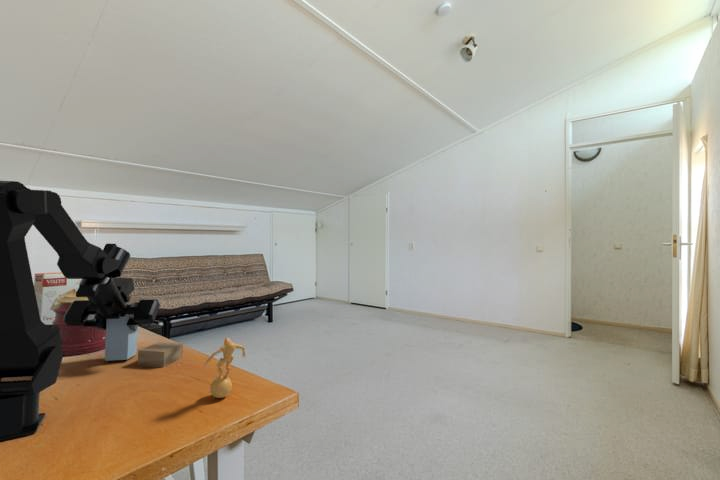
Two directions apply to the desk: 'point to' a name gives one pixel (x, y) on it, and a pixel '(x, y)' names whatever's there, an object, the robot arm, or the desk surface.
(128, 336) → the blue pillar
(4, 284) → the robot arm
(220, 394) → the figurine
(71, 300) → the canister
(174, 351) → the beige block
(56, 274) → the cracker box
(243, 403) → the desk surface
